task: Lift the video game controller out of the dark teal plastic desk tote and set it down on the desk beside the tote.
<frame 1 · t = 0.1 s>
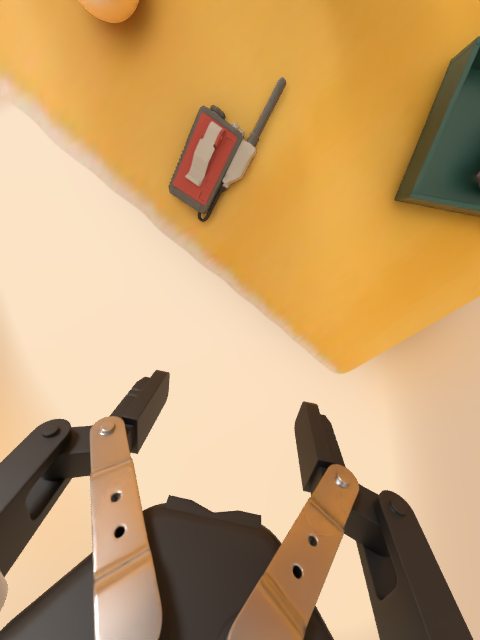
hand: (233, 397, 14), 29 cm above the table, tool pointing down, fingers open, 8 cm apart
walkie-talkie: (223, 150, 33), on the table
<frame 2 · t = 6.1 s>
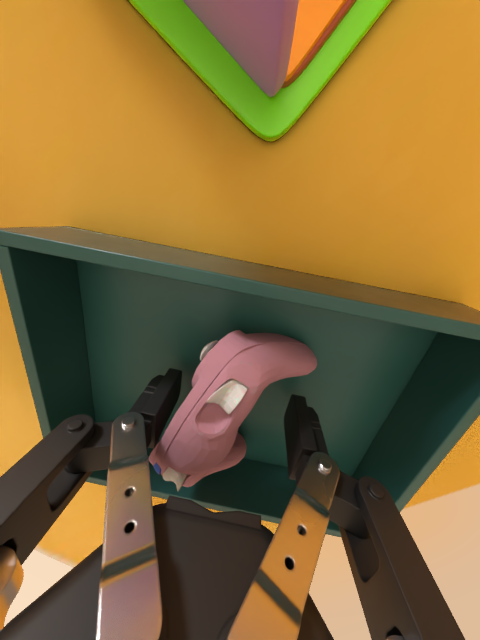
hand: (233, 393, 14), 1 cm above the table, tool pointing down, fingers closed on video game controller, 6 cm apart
video game controller: (236, 379, 15), resting on tote, touching gripper
tote: (236, 378, 15), on the table
when the fingers open (1 cm above the table, at t = 13.8 s): video game controller stays where it is, on the table.
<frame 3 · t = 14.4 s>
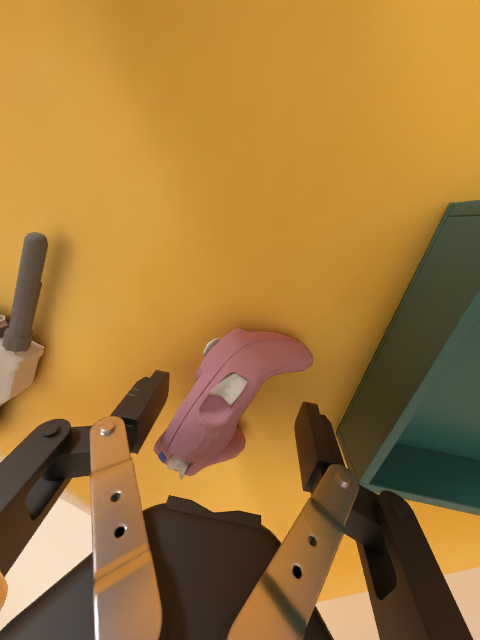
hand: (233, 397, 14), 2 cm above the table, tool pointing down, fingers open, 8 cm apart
video game controller: (236, 376, 16), on the table
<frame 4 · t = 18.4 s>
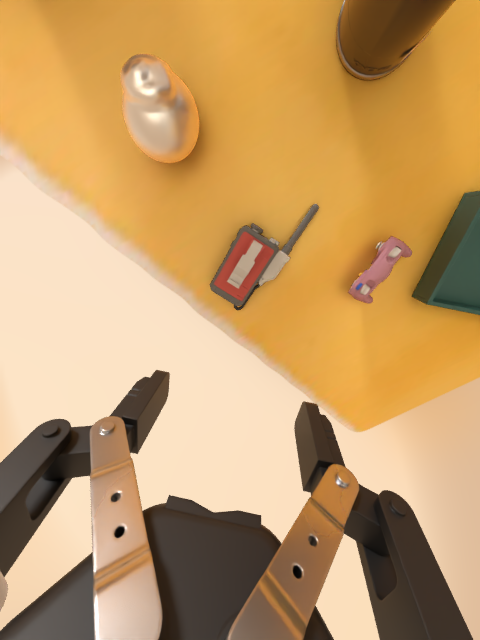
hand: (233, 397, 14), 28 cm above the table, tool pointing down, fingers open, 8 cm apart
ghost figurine: (175, 129, 32), on the table
video game controller: (370, 269, 37), on the table
walkie-talkie: (259, 252, 37), on the table
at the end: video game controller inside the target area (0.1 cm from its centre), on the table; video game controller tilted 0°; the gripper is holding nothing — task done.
